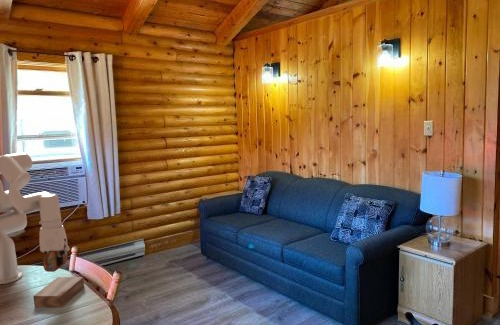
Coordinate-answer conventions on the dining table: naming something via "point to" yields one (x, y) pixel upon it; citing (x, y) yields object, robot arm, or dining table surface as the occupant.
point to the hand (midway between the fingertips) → (56, 264)
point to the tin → (53, 261)
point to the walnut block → (58, 292)
